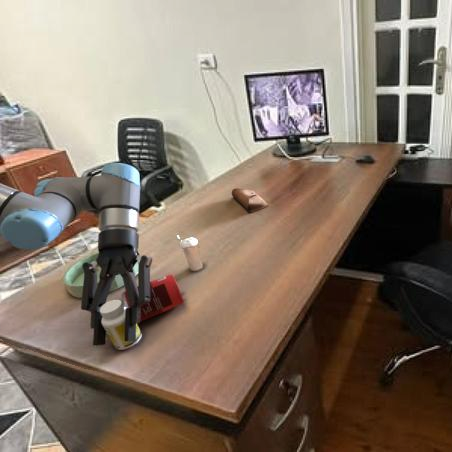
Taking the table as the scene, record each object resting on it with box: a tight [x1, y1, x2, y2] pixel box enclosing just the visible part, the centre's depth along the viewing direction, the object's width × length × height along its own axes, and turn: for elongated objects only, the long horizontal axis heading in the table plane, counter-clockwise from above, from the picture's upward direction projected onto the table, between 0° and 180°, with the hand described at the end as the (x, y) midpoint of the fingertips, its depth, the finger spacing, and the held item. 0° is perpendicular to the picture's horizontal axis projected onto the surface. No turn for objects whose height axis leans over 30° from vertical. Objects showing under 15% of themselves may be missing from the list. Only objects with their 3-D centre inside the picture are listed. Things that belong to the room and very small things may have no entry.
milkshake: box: [176, 235, 204, 272], centre depth 95 cm, size 4×5×10 cm
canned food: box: [121, 274, 185, 323], centre depth 81 cm, size 8×8×11 cm
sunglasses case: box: [231, 188, 269, 213], centre depth 132 cm, size 18×7×7 cm
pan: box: [61, 251, 139, 299], centre depth 96 cm, size 18×18×4 cm
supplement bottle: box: [100, 299, 143, 351], centre depth 73 cm, size 5×5×10 cm
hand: (114, 342), depth 70 cm, fingers closed on supplement bottle, 5 cm apart
